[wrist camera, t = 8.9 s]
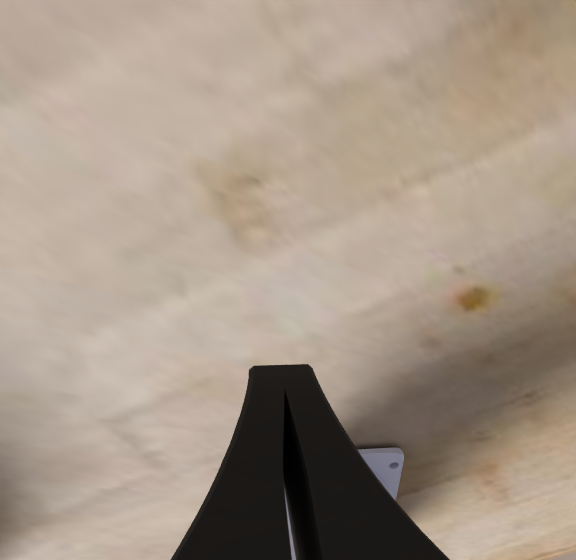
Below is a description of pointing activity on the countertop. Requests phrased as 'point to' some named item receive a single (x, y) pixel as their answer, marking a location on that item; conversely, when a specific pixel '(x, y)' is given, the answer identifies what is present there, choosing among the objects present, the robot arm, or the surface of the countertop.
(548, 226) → the countertop surface
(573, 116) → the countertop surface
